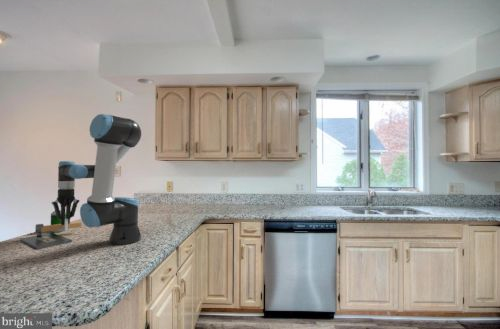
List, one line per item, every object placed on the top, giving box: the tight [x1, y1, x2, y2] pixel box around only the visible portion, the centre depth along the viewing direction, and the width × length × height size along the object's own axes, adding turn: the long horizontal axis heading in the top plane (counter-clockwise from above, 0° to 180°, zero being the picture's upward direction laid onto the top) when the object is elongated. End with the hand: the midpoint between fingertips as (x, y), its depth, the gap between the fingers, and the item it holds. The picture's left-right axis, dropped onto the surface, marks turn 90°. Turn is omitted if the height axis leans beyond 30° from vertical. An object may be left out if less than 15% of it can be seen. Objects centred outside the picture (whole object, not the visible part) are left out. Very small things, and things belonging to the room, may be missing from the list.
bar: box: [34, 221, 82, 234], centre depth 137 cm, size 20×3×4 cm, turn 131°
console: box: [19, 232, 73, 250], centre depth 127 cm, size 24×14×3 cm, turn 58°
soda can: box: [50, 210, 66, 233], centre depth 147 cm, size 8×8×12 cm
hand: (65, 230), depth 137 cm, fingers closed
